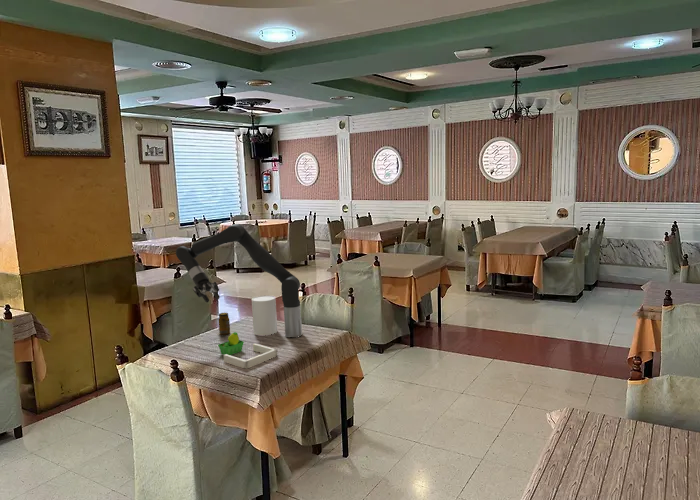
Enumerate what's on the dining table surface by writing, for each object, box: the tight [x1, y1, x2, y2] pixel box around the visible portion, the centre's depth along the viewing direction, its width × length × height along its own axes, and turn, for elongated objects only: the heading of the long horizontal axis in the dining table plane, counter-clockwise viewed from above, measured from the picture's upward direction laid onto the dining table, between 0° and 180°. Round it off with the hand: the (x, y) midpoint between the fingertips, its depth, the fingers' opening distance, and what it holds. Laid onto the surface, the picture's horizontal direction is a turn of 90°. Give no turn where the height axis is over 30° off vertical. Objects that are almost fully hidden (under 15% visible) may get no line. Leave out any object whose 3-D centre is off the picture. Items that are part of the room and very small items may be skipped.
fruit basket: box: [217, 331, 245, 356], centre depth 256 cm, size 11×9×11 cm
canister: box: [251, 294, 278, 337], centre depth 288 cm, size 14×14×20 cm
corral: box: [223, 343, 279, 370], centre depth 247 cm, size 16×20×4 cm
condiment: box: [216, 312, 234, 338], centre depth 288 cm, size 7×8×12 cm
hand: (213, 300), depth 268 cm, fingers open, 6 cm apart
